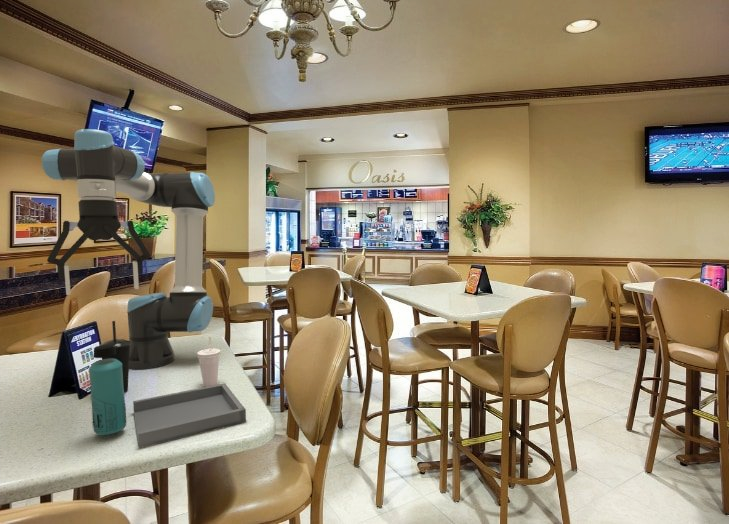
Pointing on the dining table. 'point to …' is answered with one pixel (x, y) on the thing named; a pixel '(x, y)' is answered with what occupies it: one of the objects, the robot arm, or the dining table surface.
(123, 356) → the drinking cup
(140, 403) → the charcoal tray
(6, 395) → the dining table surface
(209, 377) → the smoothie
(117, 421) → the beverage bottle
